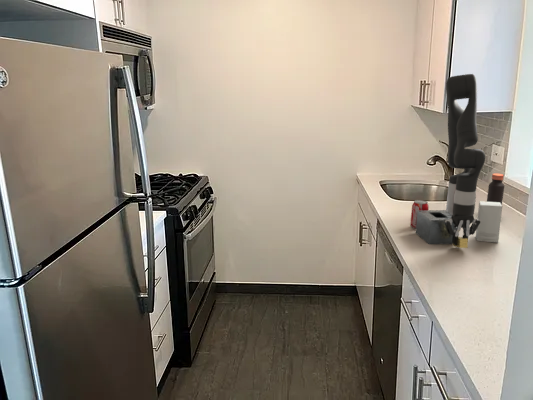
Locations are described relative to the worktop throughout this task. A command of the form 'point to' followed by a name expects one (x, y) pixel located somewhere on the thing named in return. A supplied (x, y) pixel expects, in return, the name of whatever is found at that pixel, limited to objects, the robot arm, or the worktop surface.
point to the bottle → (496, 189)
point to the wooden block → (462, 242)
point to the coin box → (433, 226)
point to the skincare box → (489, 221)
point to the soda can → (415, 207)
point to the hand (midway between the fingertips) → (459, 244)
